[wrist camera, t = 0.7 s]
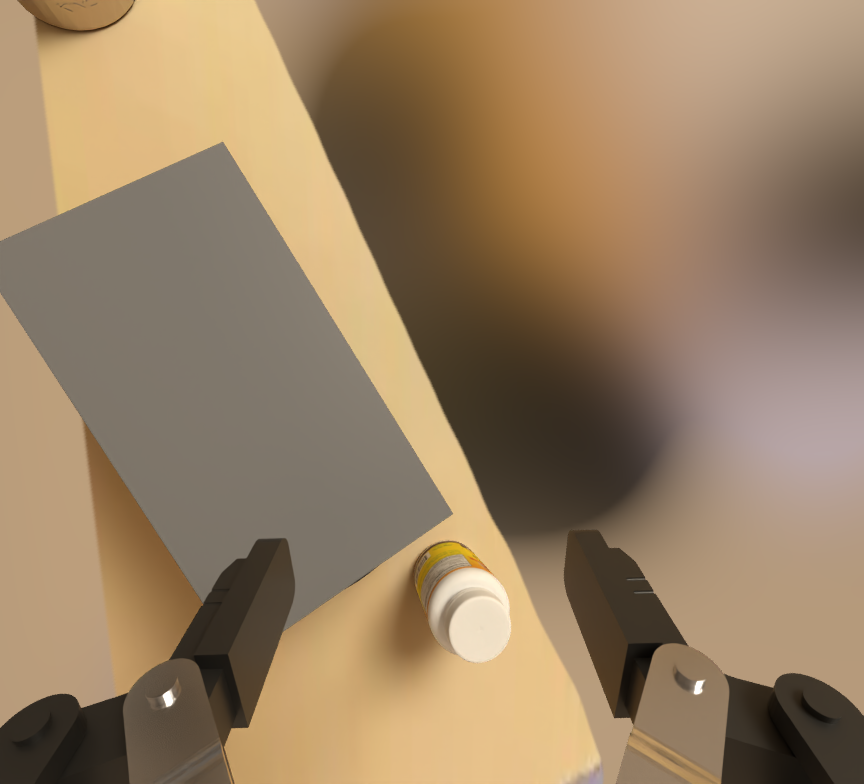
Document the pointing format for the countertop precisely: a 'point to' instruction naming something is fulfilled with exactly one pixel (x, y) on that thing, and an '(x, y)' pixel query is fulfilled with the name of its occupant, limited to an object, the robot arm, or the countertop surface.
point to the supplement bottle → (462, 602)
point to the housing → (219, 380)
